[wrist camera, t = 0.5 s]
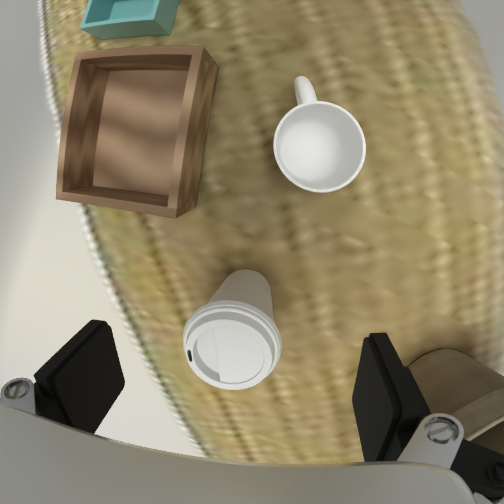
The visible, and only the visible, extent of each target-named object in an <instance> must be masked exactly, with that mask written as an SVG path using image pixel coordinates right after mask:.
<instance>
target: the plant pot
mask: <svg viewBox="0 0 504 504" xmlns="http://www.w3.org/2000/svg"><path fill="white" fill-rule="evenodd" d="M408 368H409V369H410V371H411V373H412V375H413V377H414V379H415V381H416V383H417V385H418V387H419V389H420V391H421V393H422V395H423V397H424V399H425V401H426V403H427V405H428V407H429V409H430V411H431V414H435V413H444V414H448V415H451V416H453V417H455V418H456V419H457V420H458V421H460V423H461V424H462V426H463V429H464V435H463V439H466V440H468V441H470V442H473V443H475V444H478V445H480V446H483V447H485V448H488V449H491V450H493V451H496V452H498V453H501V454H504V376H502V375H500V374H498V373H497V372H495V371H493V370H491V369H490V368H488V367H486V366H484V365H483V364H481V363H479V362H478V361H476V360H474V359H472V358H471V357H469V356H467V355H465V354H463V353H461V352H459V351H456V350H452V349H440V350H436V351H433V352H430V353H428V354H425V355H424V356H422V357H420V358H419V359H417V360H416V361H414V362H413V363H412V364H411V365H410V366H409V367H408Z"/></svg>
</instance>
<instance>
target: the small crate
mask: <svg viewBox="0 0 504 504" xmlns="http://www.w3.org/2000/svg"><path fill="white" fill-rule="evenodd" d="M178 4H179V0H89V2H88V5H87V8H86V11H85V14H84V17H83V20H82V23H81V26H80V29H82V30H84V31H86V32H87V33H89V34H91V35H93V36H95V37H97V38H99V39H100V40H106V39H116V38H127V37H140V36H163V35H170V33H171V30H172V26H173V22H174V18H175V14H176V11H177V7H178Z"/></svg>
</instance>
